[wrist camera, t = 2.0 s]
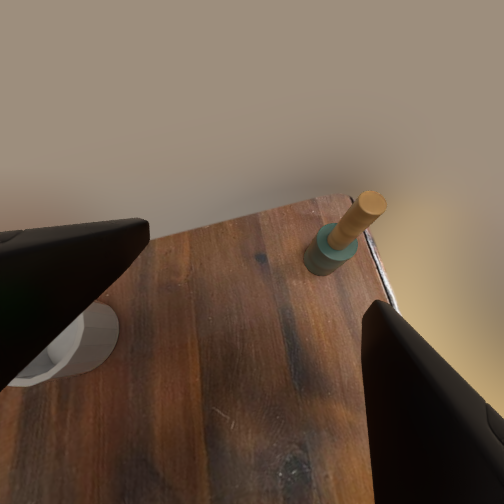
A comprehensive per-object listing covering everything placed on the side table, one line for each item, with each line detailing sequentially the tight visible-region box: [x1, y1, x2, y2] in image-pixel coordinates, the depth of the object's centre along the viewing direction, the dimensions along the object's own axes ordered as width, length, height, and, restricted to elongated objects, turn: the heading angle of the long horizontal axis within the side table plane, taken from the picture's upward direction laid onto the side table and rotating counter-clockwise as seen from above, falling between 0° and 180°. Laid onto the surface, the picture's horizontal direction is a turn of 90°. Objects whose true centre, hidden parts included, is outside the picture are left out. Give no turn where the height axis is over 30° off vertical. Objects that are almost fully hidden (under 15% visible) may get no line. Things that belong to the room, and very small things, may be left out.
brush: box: [304, 191, 387, 276], centre depth 19 cm, size 4×4×11 cm
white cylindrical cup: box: [8, 300, 119, 387], centre depth 19 cm, size 7×7×5 cm
